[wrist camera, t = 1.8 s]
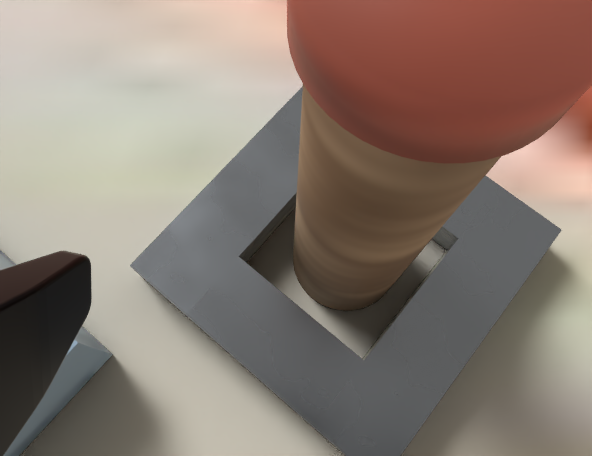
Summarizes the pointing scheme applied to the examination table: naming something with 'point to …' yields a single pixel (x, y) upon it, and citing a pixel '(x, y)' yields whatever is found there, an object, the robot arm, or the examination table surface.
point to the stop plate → (313, 336)
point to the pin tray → (60, 381)
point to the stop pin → (415, 121)
